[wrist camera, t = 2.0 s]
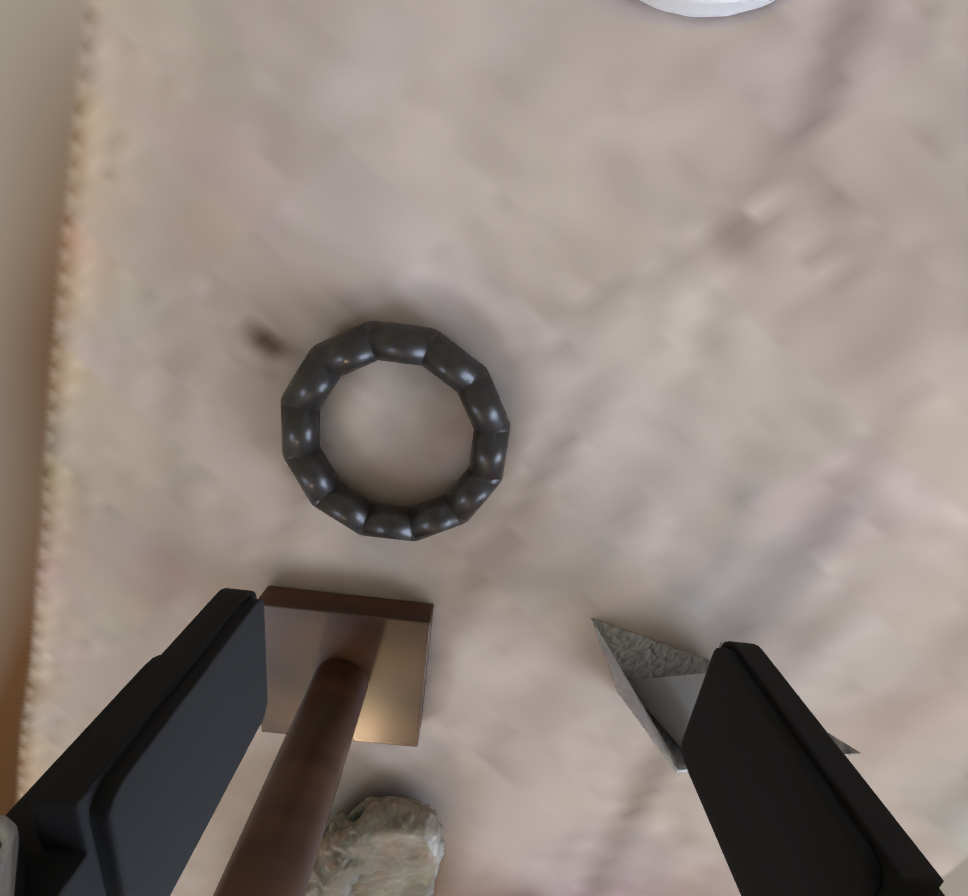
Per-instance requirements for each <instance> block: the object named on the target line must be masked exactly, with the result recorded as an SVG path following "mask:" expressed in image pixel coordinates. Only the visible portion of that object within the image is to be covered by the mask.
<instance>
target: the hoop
mask: <svg viewBox="0 0 968 896" xmlns="http://www.w3.org/2000/svg"><path fill="white" fill-rule="evenodd" d="M377 360H382V361H390V362H398V363H406V364H414V365H421V366H423V367H424V368H426V369H427V370H428V371H430V372H431V373H433V374H434V375H435V376H437V377H438V378H439V379H441V380H442V381H443V382H445V383H446V384H447V385H449V386H450V387H452V388H453V389H454V390H456V391H457V392H458V394H459V397H460V399H461V401H462V403H463V406H464V408H465V410H466V412H467V415H468V417H469V419H470V421H471V424H472V426H473V428H474V434H473V442H472V450H471V458H470V466H469V468H468V469H467V470H466V471H465V473H464V474H463V475H462V476H461V478H460V479H459V480H458V481H457V482H456V484H455V485H454V486H453V487H452V489H451V490H450V491H449V492H448V494H447V495H444V496H441V497H439V498H436V499H434V500H431V501H428V502H426V503H423V504H420V505H418V506H415V507H413V508H410V507H402V506H393V505H385V504H376V503H372V502H371V501H369V500H368V499H366V498H365V497H363V496H361V495H360V494H358V493H357V492H355V491H354V490H352V489H351V488H349V487H348V486H346V485H344V484H343V483H341V482H340V481H339V480H338V478H337V476H336V474H335V473H334V471H333V469H332V467H331V466H330V464H329V462H328V460H327V459H326V457H325V455H324V454H323V452H322V450H321V448H320V407H321V406H322V404H323V403H324V401H325V400H326V398H327V397H328V395H329V394H330V392H331V391H332V389H333V388H334V386H335V384H336V383H337V381H338V380H339V378H340V377H341V376H343V375H345V374H347V373H350V372H352V371H354V370H356V369H359V368H361V367H363V366H366V365H368V364H370V363H372V362H375V361H377ZM281 422H282V453H283V457H284V459H285V461H286V463H287V464H288V466H289V468H290V469H291V471H292V473H293V474H294V476H295V477H296V479H297V481H298V482H299V484H300V486H301V487H302V489H303V491H304V492H305V494H306V496H307V497H308V499H309V501H310V502H311V503H312V505H313V506H315V507H316V508H318V509H319V510H321V511H323V512H324V513H326V514H327V515H329V516H330V517H332V518H334V519H335V520H337V521H338V522H340V523H342V524H343V525H345V526H346V527H348V528H350V529H351V530H353V531H354V532H356V533H358V534H360V535H363V536H371V537H380V538H389V539H398V540H406V541H418V540H421V539H424V538H426V537H429V536H432V535H434V534H437V533H440V532H443V531H445V530H448V529H451V528H453V527H456V526H459V525H461V524H464V523H466V522H467V521H468V520H469V519H470V518H471V517H472V516H473V514H474V513H475V512H476V511H477V510H478V509H479V507H480V506H481V505H482V504H483V503H484V501H485V500H486V499H487V498H488V497H489V495H490V494H491V493H492V492H493V491H494V490H495V488H496V487H497V486H498V485H499V483H500V482H501V480H502V477H503V471H504V464H505V457H506V451H507V444H508V438H509V431H510V422H509V419H508V417H507V415H506V412H505V410H504V407H503V405H502V403H501V400H500V398H499V395H498V393H497V391H496V388H495V386H494V384H493V381H492V379H491V376H490V374H489V372H488V370H487V369H486V367H485V366H484V365H483V364H481V363H480V362H479V361H477V360H476V359H475V358H473V357H472V356H471V355H469V354H468V353H467V352H466V351H464V350H463V349H462V348H460V347H459V346H458V345H456V344H455V343H454V342H452V341H451V340H450V339H448V338H447V337H446V336H445V335H443V334H442V333H441V332H439V331H438V330H436V329H433V328H427V327H419V326H412V325H404V324H396V323H389V322H381V321H368V322H365V323H363V324H361V325H358V326H356V327H354V328H352V329H350V330H347V331H345V332H343V333H341V334H339V335H336V336H334V337H332V338H330V339H328V340H325V341H323V342H321V343H319V344H317V345H315V346H314V347H313V348H312V349H311V350H310V351H309V353H308V354H307V356H306V358H305V359H304V361H303V363H302V364H301V366H300V367H299V369H298V371H297V372H296V374H295V376H294V377H293V379H292V380H291V382H290V384H289V385H288V387H287V388H286V390H285V392H284V393H283V395H282V398H281Z"/></svg>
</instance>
